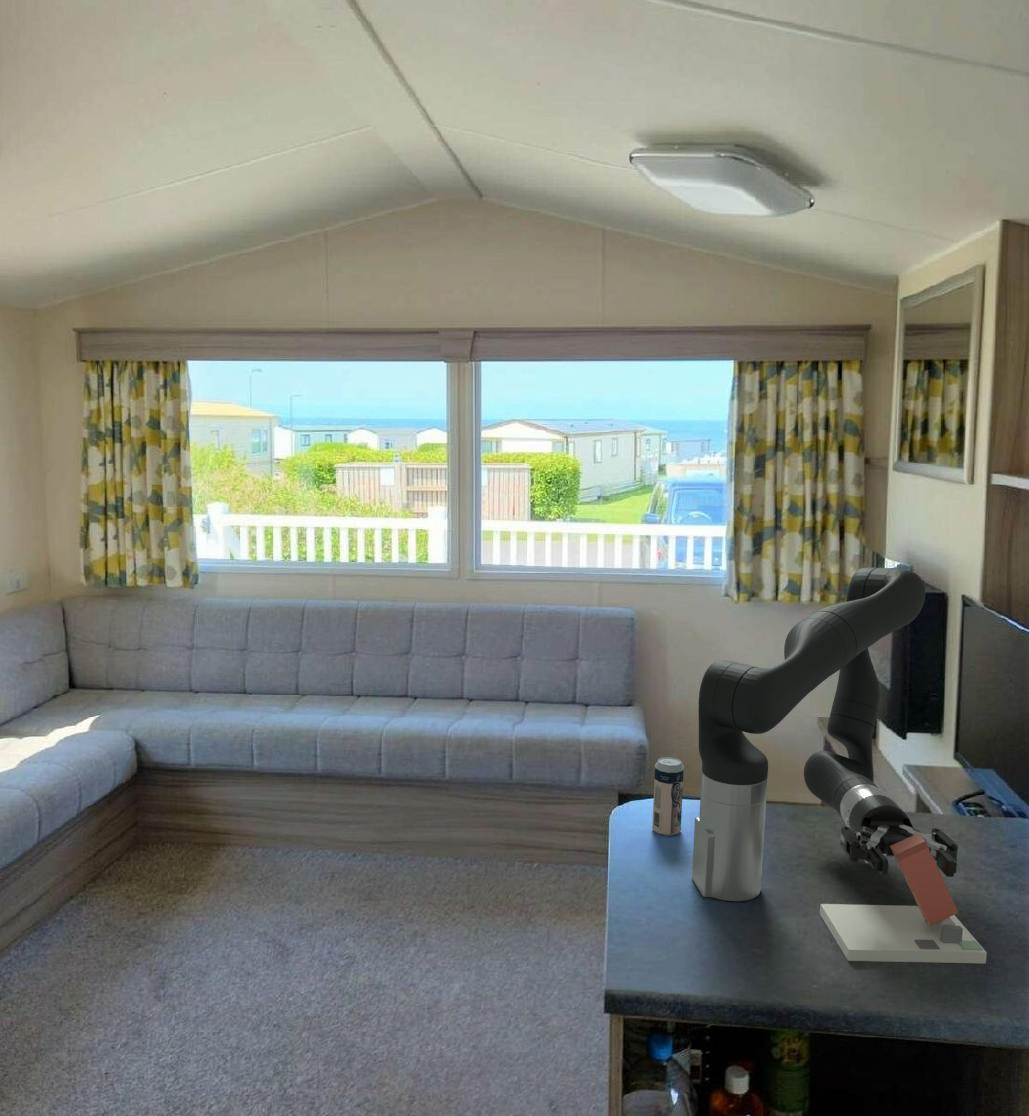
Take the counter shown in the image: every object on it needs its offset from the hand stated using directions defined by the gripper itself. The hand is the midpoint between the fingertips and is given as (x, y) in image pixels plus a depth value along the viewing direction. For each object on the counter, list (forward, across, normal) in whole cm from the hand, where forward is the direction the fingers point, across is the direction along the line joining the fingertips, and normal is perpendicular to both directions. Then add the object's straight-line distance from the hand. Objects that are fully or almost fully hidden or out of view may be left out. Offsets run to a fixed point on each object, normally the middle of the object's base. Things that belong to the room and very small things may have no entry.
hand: (918, 869), depth 131 cm
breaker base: (-3, -1, +11) cm, 11 cm away
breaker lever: (-2, +5, +8) cm, 9 cm away
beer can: (-36, -26, +11) cm, 46 cm away
